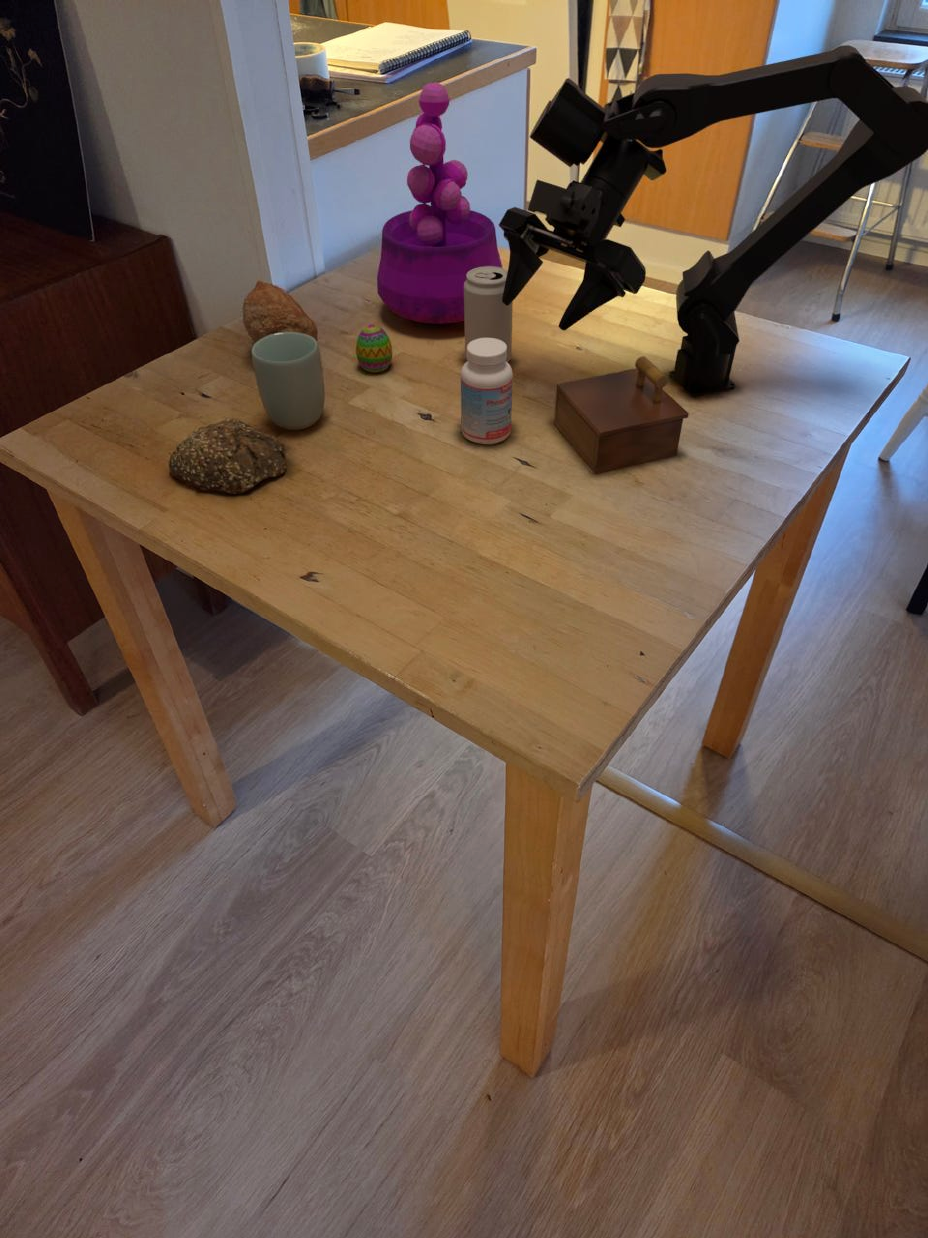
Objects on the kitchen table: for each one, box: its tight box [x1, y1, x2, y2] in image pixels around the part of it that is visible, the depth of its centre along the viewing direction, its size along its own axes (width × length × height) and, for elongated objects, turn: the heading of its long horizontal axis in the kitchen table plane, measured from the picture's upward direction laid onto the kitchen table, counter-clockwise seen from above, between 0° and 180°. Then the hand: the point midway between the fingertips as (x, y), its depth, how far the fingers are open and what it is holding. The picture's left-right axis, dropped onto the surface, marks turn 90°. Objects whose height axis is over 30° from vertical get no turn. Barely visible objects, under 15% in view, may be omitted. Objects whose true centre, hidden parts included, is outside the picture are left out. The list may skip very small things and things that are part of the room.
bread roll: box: [168, 417, 287, 495], centre depth 98 cm, size 13×12×5 cm
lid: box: [555, 355, 690, 437], centre depth 98 cm, size 11×12×4 cm
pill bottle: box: [460, 338, 514, 445], centre depth 100 cm, size 6×6×11 cm
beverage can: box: [463, 266, 514, 363], centre depth 113 cm, size 6×6×12 cm
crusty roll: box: [242, 279, 318, 344], centre depth 115 cm, size 10×13×10 cm
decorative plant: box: [376, 82, 503, 325], centre depth 118 cm, size 19×18×30 cm
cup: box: [250, 332, 326, 431], centre depth 103 cm, size 8×8×10 cm
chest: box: [553, 388, 684, 474], centre depth 101 cm, size 11×12×5 cm
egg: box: [355, 323, 393, 374], centre depth 114 cm, size 5×5×6 cm
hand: (532, 315), depth 98 cm, fingers open, 9 cm apart
